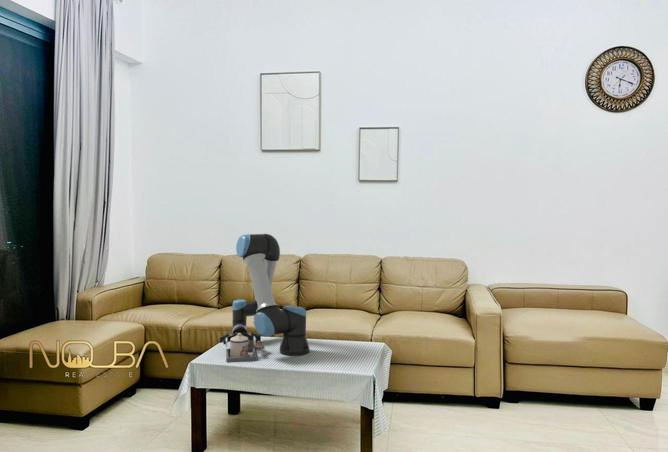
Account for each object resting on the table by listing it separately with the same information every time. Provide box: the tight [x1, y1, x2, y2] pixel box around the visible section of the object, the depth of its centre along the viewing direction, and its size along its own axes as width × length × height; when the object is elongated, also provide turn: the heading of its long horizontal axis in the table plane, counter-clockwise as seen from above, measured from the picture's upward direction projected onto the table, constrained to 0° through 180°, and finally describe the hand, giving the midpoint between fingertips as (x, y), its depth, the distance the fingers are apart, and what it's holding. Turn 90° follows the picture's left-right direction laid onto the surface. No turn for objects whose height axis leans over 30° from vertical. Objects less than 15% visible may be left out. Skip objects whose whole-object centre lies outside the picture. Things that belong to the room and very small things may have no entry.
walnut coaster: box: [248, 341, 264, 350], centre depth 265 cm, size 12×12×1 cm
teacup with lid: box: [229, 333, 250, 358], centre depth 246 cm, size 12×9×12 cm
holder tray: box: [225, 347, 257, 363], centre depth 247 cm, size 14×17×2 cm
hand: (240, 343), depth 244 cm, fingers open, 13 cm apart
